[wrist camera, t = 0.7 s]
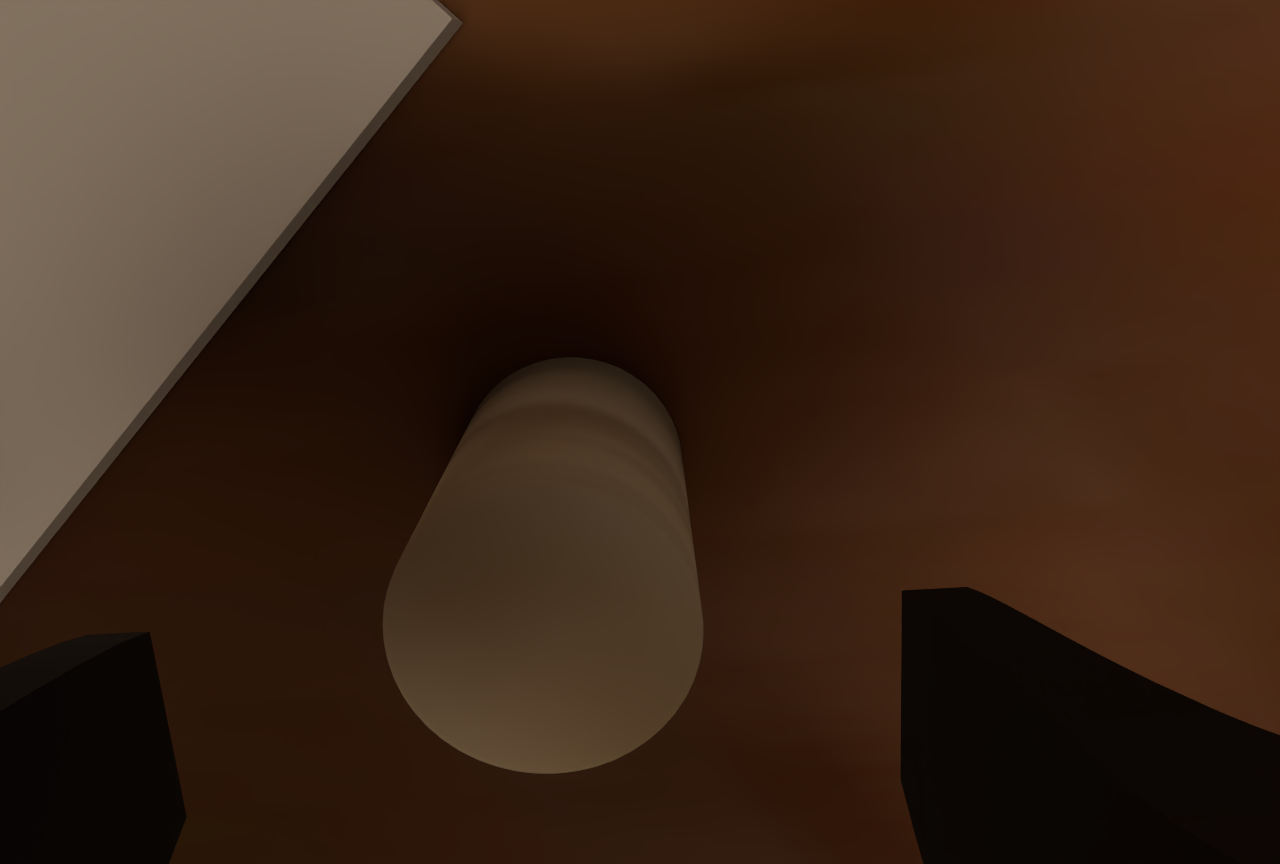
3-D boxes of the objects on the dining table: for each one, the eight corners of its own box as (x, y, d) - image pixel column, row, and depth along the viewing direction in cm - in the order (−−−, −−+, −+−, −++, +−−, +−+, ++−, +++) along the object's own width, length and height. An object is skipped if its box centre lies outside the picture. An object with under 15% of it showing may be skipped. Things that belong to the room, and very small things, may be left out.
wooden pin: (583, 606, 19) (561, 829, 13) (418, 472, 18) (317, 645, 12) (727, 455, 18) (770, 621, 12) (560, 310, 18) (523, 414, 12)
